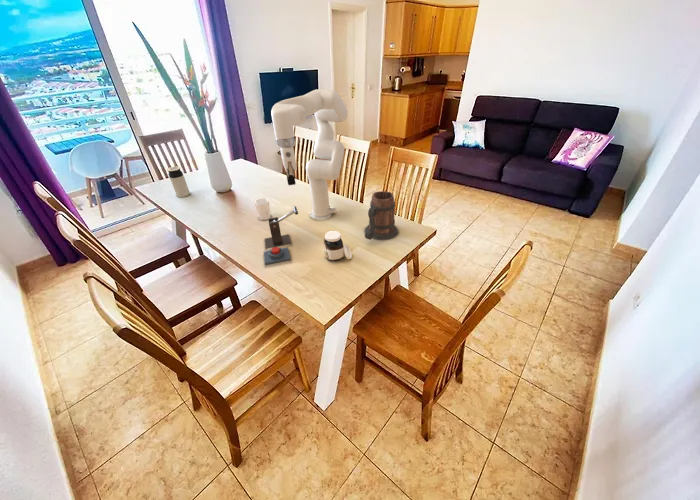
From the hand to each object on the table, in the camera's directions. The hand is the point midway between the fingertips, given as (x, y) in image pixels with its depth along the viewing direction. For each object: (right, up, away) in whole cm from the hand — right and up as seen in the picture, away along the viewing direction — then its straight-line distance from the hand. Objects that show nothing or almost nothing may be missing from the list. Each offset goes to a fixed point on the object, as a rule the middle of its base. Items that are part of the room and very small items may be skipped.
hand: (291, 184), depth 131 cm
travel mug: (-84, +7, +65) cm, 106 cm away
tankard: (+40, -21, +19) cm, 49 cm away
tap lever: (-5, -15, +9) cm, 18 cm away
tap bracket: (-10, -26, +14) cm, 31 cm away
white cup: (-22, -11, +37) cm, 44 cm away
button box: (-7, -33, +4) cm, 34 cm away
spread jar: (+21, -32, +4) cm, 39 cm away
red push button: (-7, -30, +2) cm, 31 cm away
